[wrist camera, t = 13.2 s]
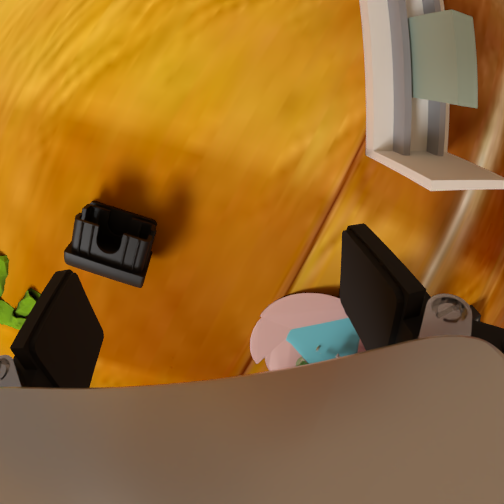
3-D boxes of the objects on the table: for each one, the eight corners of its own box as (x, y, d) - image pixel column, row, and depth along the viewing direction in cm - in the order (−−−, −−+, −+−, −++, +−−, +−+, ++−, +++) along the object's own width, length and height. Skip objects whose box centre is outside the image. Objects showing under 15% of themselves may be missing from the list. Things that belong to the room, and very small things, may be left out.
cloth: (-40, 287, 39) (-46, 294, 37) (-4, 205, 34) (-13, 211, 32) (37, 355, 48) (33, 364, 46) (92, 295, 43) (87, 305, 41)
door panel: (399, 20, 27) (451, 9, 18) (419, 24, 27) (472, 17, 18) (404, 96, 32) (457, 105, 23) (423, 98, 32) (477, 108, 23)
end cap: (79, 246, 38) (61, 273, 33) (88, 198, 36) (67, 219, 30) (147, 268, 41) (139, 298, 35) (161, 221, 38) (153, 247, 33)
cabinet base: (354, -37, 24) (414, -75, 12) (431, -17, 25) (501, -33, 13) (365, 155, 37) (430, 190, 25) (438, 155, 38) (507, 189, 26)
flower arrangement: (281, 226, 46) (294, 348, 20) (419, 265, 47) (518, 376, 20) (229, 395, 58) (209, 523, 32) (340, 413, 59) (361, 531, 33)
